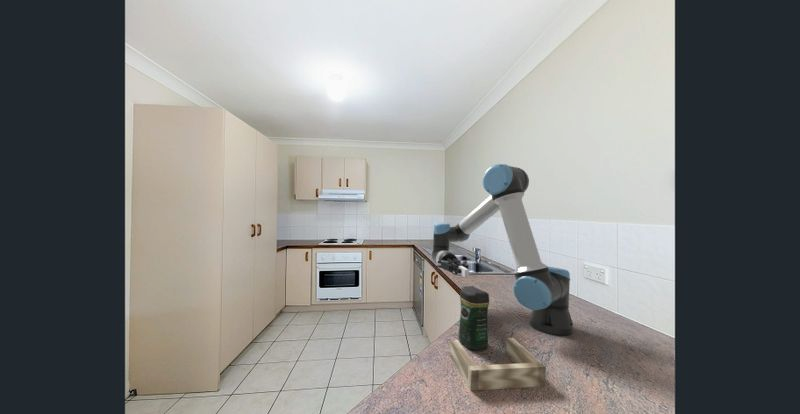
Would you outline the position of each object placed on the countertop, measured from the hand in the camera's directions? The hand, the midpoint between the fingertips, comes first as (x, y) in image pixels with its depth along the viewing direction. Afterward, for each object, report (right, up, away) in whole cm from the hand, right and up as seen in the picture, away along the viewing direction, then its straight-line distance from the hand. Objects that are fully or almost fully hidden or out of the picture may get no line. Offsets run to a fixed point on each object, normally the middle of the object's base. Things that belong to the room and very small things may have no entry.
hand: (466, 273), depth 102 cm
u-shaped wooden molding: (+2, -22, -22) cm, 31 cm away
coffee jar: (0, -22, -7) cm, 23 cm away
